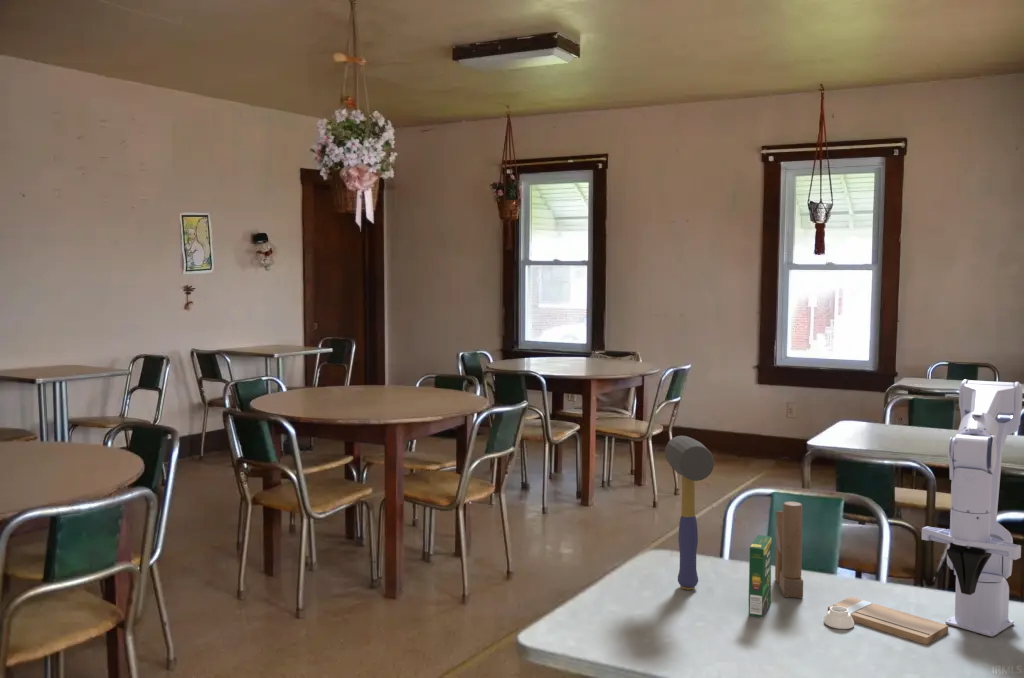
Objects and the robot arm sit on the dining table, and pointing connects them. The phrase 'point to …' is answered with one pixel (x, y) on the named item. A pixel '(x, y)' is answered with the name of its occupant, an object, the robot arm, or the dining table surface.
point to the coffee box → (760, 576)
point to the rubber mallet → (688, 499)
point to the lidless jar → (839, 618)
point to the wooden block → (789, 549)
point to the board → (893, 621)
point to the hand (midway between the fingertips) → (967, 592)
